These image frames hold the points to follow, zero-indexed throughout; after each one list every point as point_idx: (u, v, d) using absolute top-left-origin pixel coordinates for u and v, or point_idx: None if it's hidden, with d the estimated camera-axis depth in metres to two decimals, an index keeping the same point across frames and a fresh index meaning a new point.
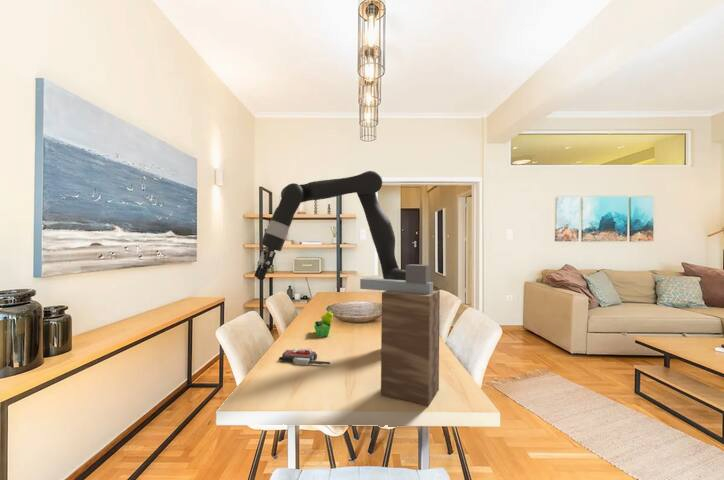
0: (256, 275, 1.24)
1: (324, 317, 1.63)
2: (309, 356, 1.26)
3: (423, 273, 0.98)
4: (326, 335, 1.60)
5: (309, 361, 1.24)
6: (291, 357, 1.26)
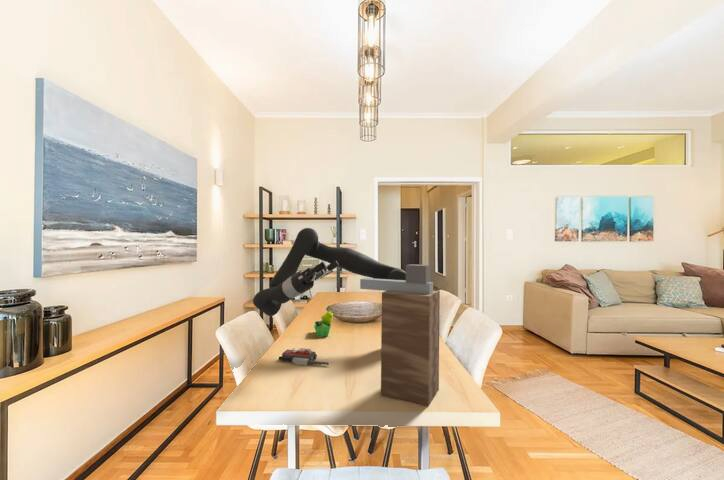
0: (336, 264, 1.22)
1: (324, 317, 1.63)
2: (308, 356, 1.26)
3: (423, 273, 0.98)
4: (326, 335, 1.60)
5: (308, 361, 1.24)
6: (290, 357, 1.27)
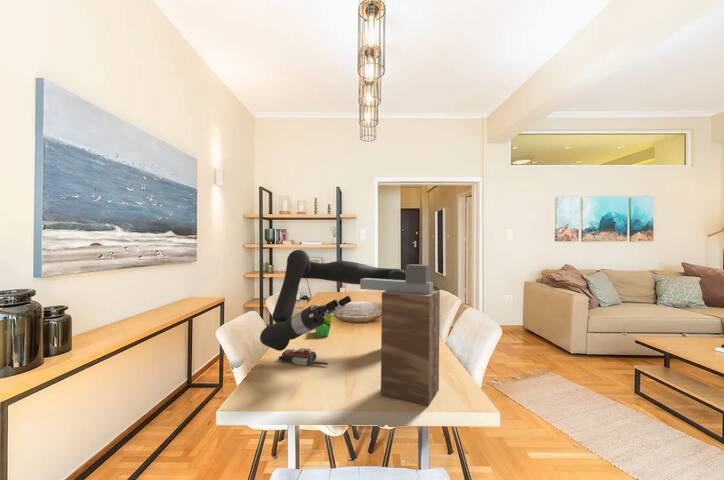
0: (348, 300, 1.15)
1: None
2: (308, 356, 1.26)
3: (423, 273, 0.98)
4: (326, 335, 1.60)
5: (307, 361, 1.23)
6: (290, 357, 1.27)
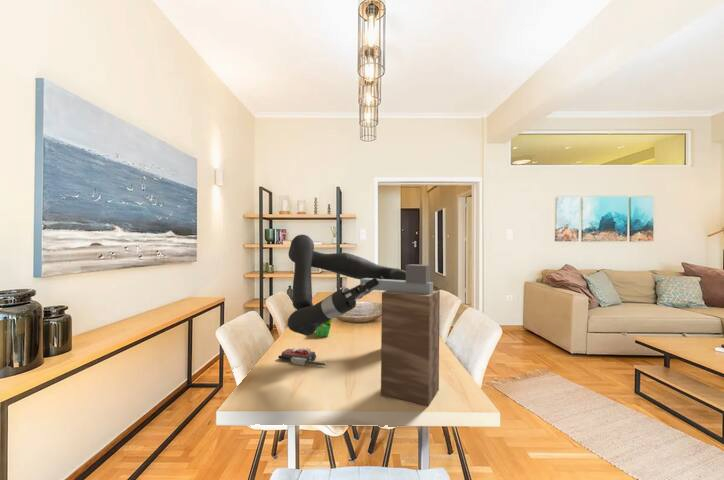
0: None
1: None
2: (306, 356, 1.25)
3: (423, 273, 0.98)
4: (326, 335, 1.60)
5: (305, 361, 1.23)
6: (289, 356, 1.27)
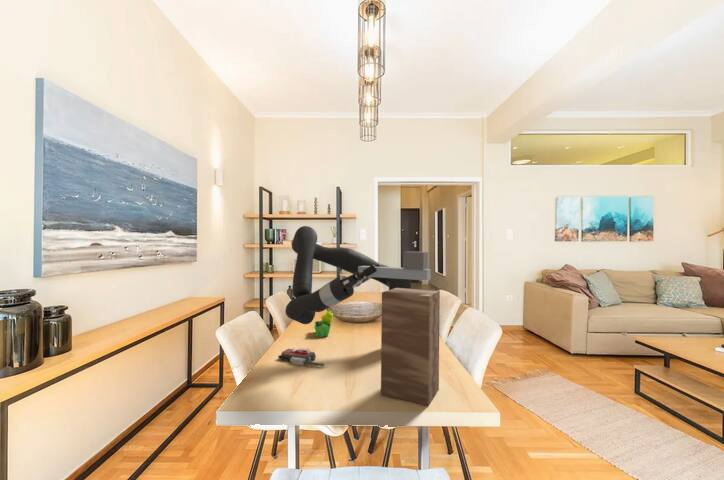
0: None
1: (324, 317, 1.63)
2: (305, 356, 1.25)
3: (421, 260, 0.98)
4: (326, 335, 1.60)
5: (304, 361, 1.23)
6: (289, 356, 1.27)
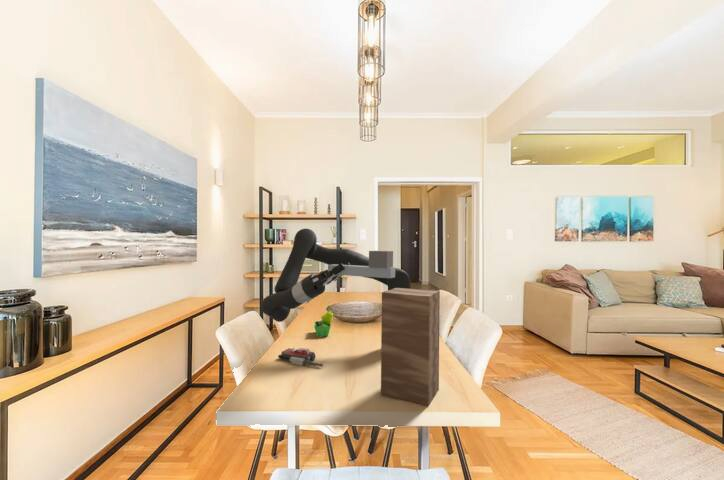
0: None
1: (324, 317, 1.63)
2: (305, 356, 1.25)
3: (385, 258, 1.03)
4: (326, 335, 1.60)
5: (303, 361, 1.23)
6: (289, 356, 1.28)
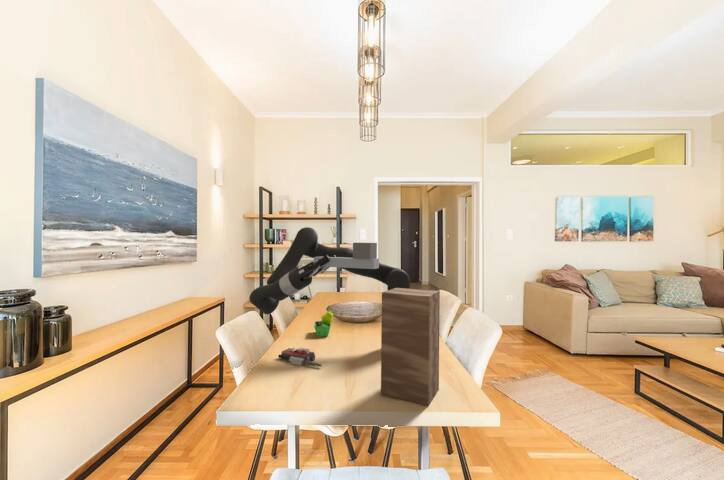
0: None
1: (324, 317, 1.63)
2: (304, 356, 1.25)
3: (368, 250, 1.05)
4: (326, 335, 1.60)
5: (302, 361, 1.23)
6: (288, 356, 1.28)
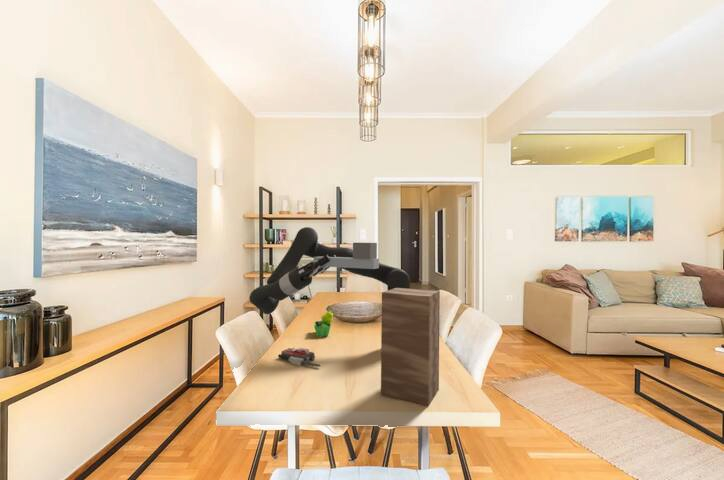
0: None
1: (324, 317, 1.63)
2: (303, 356, 1.25)
3: (368, 250, 1.05)
4: (326, 335, 1.60)
5: (301, 361, 1.23)
6: (288, 356, 1.28)
